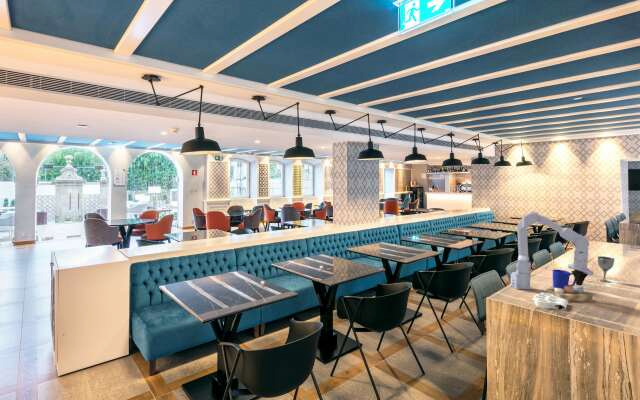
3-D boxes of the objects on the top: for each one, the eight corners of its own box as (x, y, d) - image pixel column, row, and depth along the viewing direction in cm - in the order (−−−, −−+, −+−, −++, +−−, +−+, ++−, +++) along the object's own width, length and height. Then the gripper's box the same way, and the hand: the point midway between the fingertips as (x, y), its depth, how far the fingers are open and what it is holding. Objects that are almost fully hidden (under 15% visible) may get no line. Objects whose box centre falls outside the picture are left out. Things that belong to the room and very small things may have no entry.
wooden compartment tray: (559, 300, 169) (559, 294, 169) (545, 294, 179) (546, 288, 179) (592, 301, 169) (592, 295, 168) (576, 294, 179) (577, 289, 178)
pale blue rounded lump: (577, 294, 172) (578, 288, 171) (571, 291, 176) (572, 285, 175) (585, 294, 172) (585, 288, 171) (579, 292, 176) (579, 286, 175)
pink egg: (567, 294, 172) (568, 288, 171) (562, 291, 176) (562, 285, 175) (575, 294, 172) (575, 288, 171) (569, 291, 176) (569, 285, 175)
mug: (579, 291, 184) (580, 274, 184) (555, 289, 187) (556, 272, 186) (571, 287, 192) (572, 270, 192) (548, 285, 195) (549, 269, 194)
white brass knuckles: (564, 313, 152) (527, 305, 162) (568, 303, 166) (534, 296, 175) (565, 306, 152) (528, 298, 162) (568, 297, 165) (534, 290, 175)
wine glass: (599, 281, 205) (600, 258, 205) (594, 278, 213) (595, 255, 212) (615, 283, 202) (616, 259, 202) (609, 280, 210) (611, 257, 209)
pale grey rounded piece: (557, 295, 172) (558, 289, 171) (552, 293, 176) (552, 287, 175) (565, 296, 172) (565, 290, 171) (559, 293, 176) (560, 287, 175)
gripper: (600, 263, 165) (598, 289, 166) (577, 256, 180) (575, 281, 180) (586, 262, 165) (584, 289, 166) (564, 256, 180) (563, 280, 181)
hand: (579, 285), depth 173 cm, fingers closed
